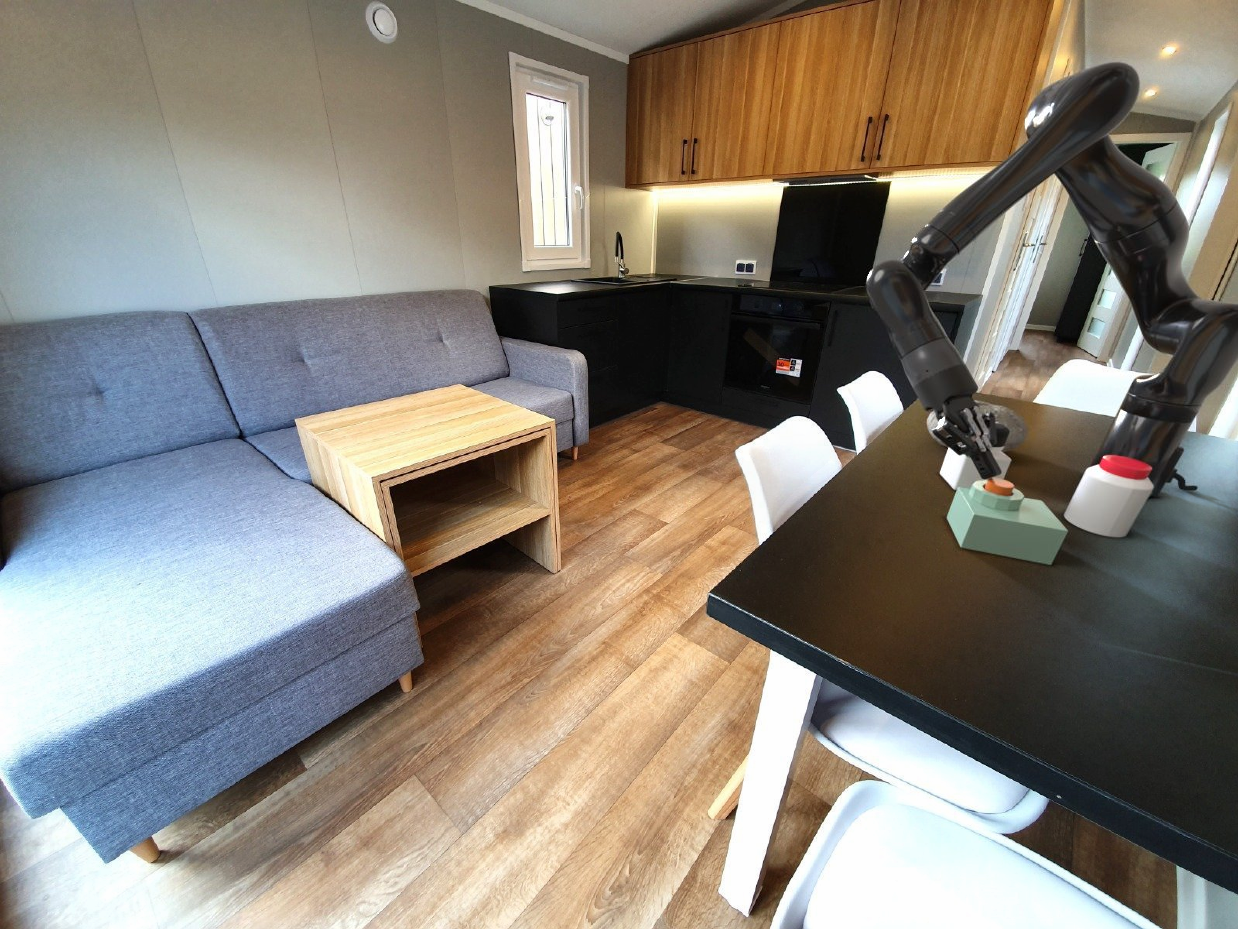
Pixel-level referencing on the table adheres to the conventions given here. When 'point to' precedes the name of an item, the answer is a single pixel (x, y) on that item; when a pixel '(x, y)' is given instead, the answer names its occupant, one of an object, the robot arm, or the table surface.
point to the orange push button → (999, 486)
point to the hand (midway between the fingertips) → (992, 476)
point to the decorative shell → (1001, 416)
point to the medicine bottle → (963, 469)
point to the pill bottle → (1110, 496)
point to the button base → (1005, 524)
